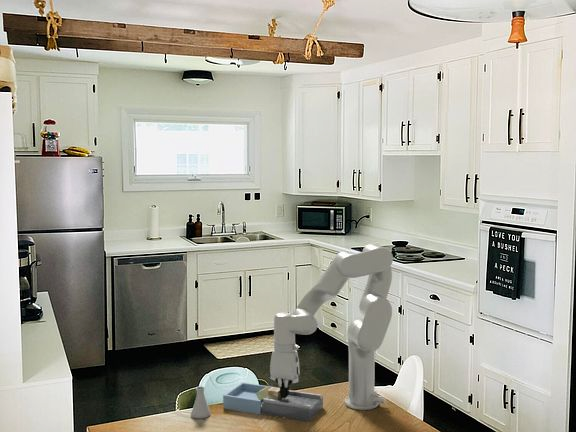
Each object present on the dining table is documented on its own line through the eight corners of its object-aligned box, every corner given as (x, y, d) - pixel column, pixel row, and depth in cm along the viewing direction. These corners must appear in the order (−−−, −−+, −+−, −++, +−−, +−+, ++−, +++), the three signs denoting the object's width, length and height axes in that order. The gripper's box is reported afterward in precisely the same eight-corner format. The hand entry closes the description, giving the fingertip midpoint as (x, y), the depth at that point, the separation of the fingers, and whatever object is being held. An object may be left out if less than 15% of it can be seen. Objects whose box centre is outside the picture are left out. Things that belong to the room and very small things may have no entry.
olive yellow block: (272, 393, 226) (268, 386, 227) (267, 397, 223) (264, 389, 223) (264, 397, 228) (260, 390, 228) (259, 400, 224) (255, 393, 225)
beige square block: (282, 396, 225) (282, 388, 225) (277, 399, 221) (277, 391, 221) (272, 394, 226) (272, 386, 226) (267, 398, 223) (267, 390, 223)
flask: (206, 419, 214) (206, 392, 213) (187, 418, 215) (186, 390, 214) (213, 412, 221) (213, 385, 220) (194, 410, 222) (194, 383, 221)
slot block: (322, 407, 224) (322, 393, 224) (309, 422, 211) (309, 407, 211) (278, 400, 231) (278, 387, 231) (262, 414, 218) (262, 400, 218)
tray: (277, 400, 232) (277, 387, 231) (260, 414, 218) (260, 401, 218) (242, 394, 238) (242, 382, 237) (223, 408, 224) (223, 395, 224)
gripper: (307, 346, 221) (307, 396, 223) (269, 342, 227) (269, 390, 228) (299, 352, 214) (299, 403, 216) (261, 347, 220) (261, 397, 221)
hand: (284, 396), depth 222 cm, fingers closed
